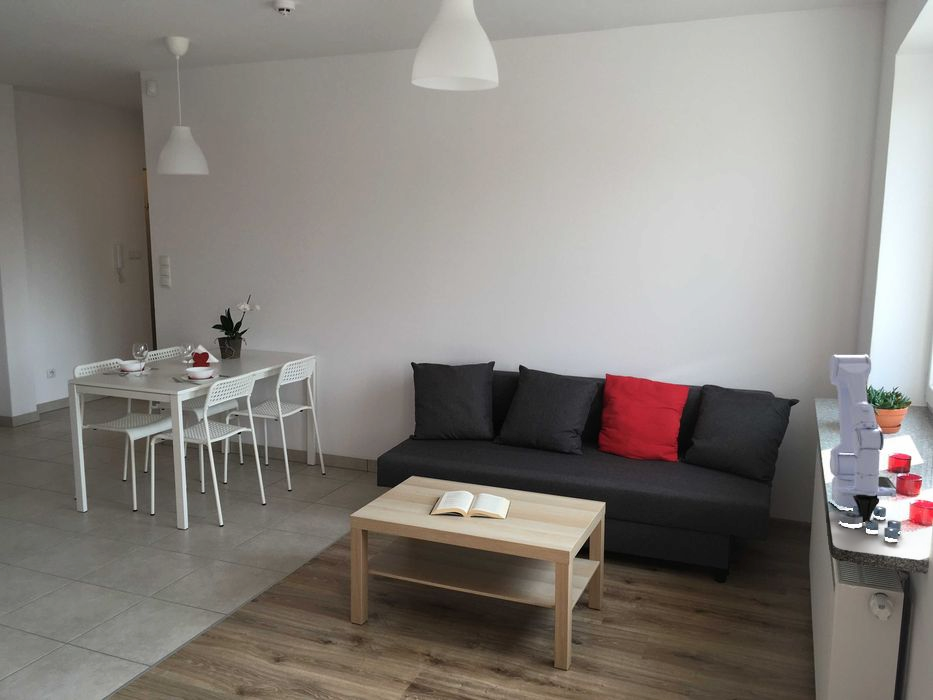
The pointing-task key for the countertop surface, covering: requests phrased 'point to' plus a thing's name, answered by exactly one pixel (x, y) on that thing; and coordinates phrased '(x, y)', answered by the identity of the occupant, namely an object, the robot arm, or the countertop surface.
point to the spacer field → (891, 528)
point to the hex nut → (850, 517)
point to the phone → (885, 483)
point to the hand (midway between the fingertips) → (864, 522)
